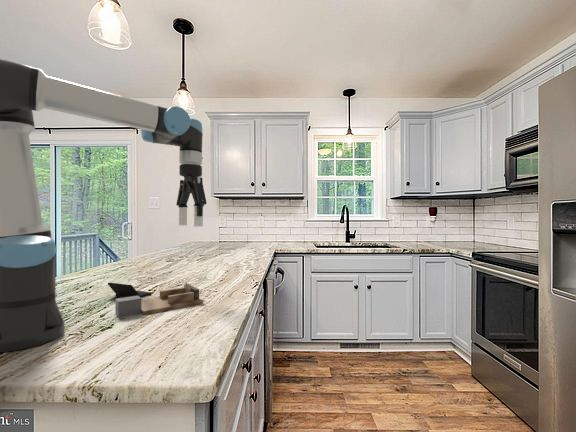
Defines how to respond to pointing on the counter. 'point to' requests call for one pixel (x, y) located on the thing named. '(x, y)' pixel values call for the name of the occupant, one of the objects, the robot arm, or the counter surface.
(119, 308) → the plug block
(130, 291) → the black angled piece
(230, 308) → the counter surface
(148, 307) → the header board
